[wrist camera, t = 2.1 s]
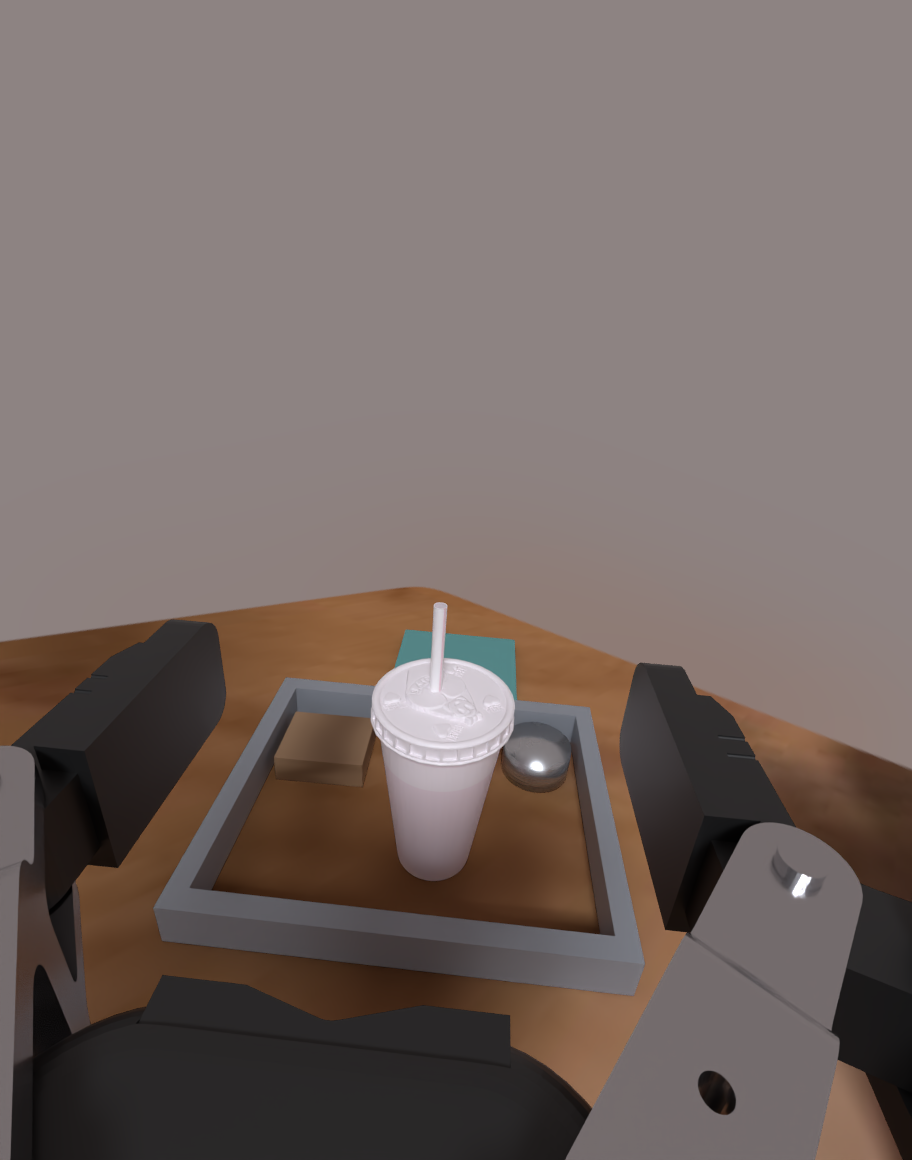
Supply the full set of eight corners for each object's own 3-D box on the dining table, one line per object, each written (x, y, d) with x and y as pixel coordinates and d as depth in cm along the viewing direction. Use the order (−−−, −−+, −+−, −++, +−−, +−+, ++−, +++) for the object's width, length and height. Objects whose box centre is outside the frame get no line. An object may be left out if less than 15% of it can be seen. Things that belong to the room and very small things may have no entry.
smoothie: (436, 781, 33) (451, 564, 27) (521, 853, 29) (561, 618, 23) (344, 843, 29) (338, 603, 23) (428, 936, 25) (447, 677, 19)
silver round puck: (501, 790, 33) (504, 765, 32) (501, 743, 37) (504, 718, 36) (569, 797, 33) (575, 772, 32) (563, 749, 37) (567, 725, 36)
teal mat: (385, 704, 39) (385, 697, 39) (405, 635, 47) (405, 629, 47) (516, 717, 39) (517, 710, 39) (513, 646, 47) (514, 640, 47)
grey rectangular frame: (161, 940, 24) (153, 907, 23) (288, 703, 39) (286, 677, 38) (633, 995, 24) (644, 964, 23) (584, 733, 38) (589, 707, 37)
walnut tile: (276, 783, 33) (273, 757, 32) (297, 736, 37) (295, 711, 36) (362, 791, 33) (362, 765, 32) (375, 743, 36) (375, 718, 36)
